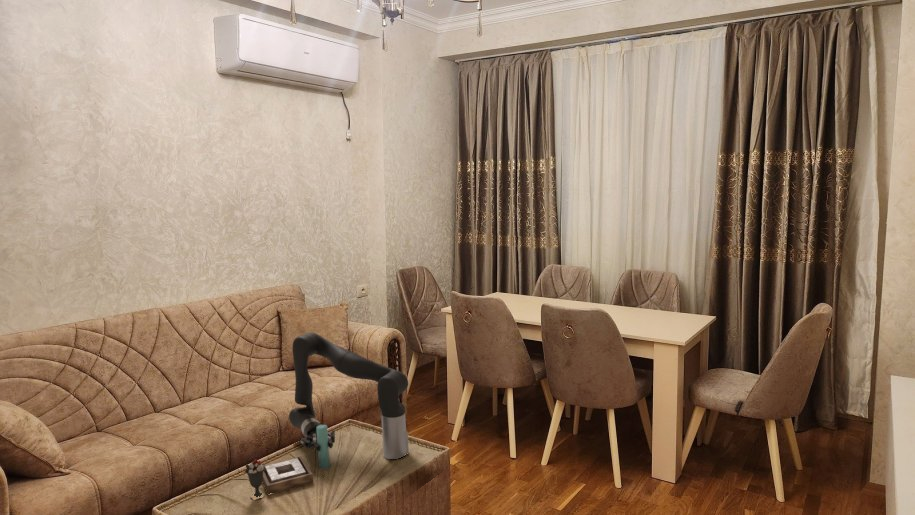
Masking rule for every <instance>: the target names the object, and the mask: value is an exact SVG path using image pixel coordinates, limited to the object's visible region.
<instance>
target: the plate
mask: <svg viewBox="0 0 915 515" xmlns="http://www.w3.org/2000/svg"><path fill="white" fill-rule="evenodd" d="M295 458H296V457H295ZM291 459H292V458H291ZM290 471H291V472H290ZM265 472H266V476H267V478H268V480H269V482H270V484H271V483H275V482H279V481H283V480H286V479H290V478H294V477H298V476H302V475H306V472H305V470H304V468H303V467H302V465H301V463H300V462H299V460H298V458H296V459H292V460H288V461H284V462H280V463H276V464H272V465H268V466H265ZM286 472H287V473H286ZM282 473H283V474H282Z"/></svg>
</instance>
